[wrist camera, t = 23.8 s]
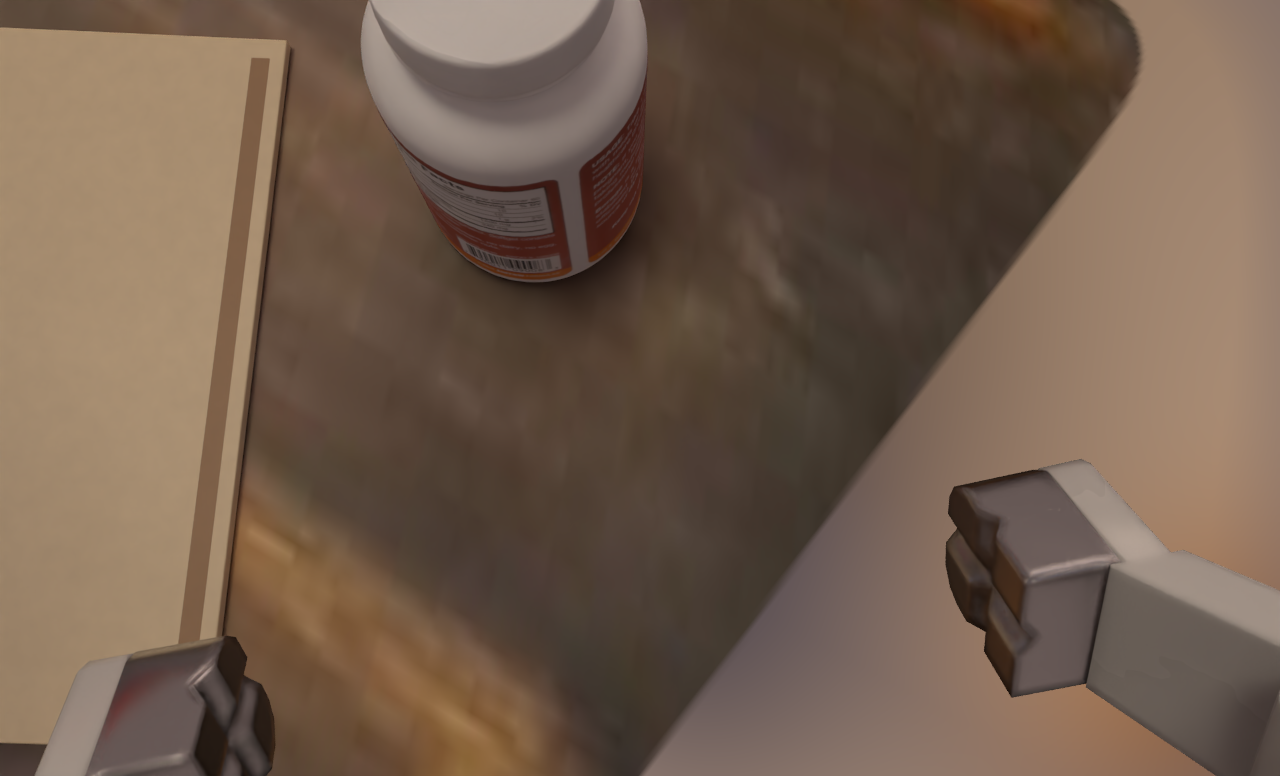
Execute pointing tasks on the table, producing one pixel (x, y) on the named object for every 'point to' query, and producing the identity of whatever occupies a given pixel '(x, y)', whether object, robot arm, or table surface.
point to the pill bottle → (516, 122)
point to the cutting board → (124, 341)
